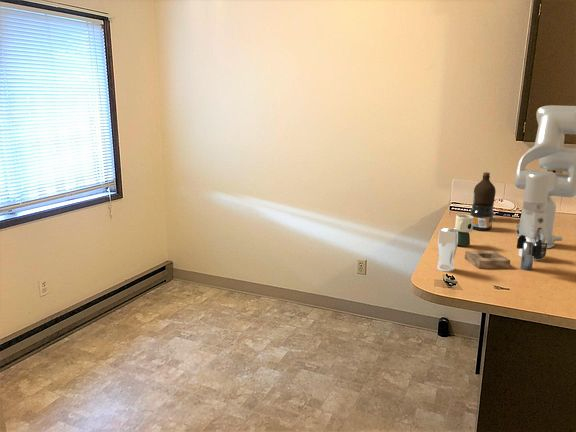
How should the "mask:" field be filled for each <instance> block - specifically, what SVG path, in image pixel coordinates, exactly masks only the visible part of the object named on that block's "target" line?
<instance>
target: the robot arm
mask: <svg viewBox="0 0 576 432" xmlns="http://www.w3.org/2000/svg"><path fill="white" fill-rule="evenodd" d="M536 121H537V125H538V126H537V132H536V136H535V141H534V145H533V146H532V147H531V148H529V149H527V150H526V151H525V152H524V154H522V156H521V157H520V158H519V160H518V163H517V166H516V170H515V175H514V185H515V187H516V188H517V189H520V190H524V194H523V204H522V211H521V215H520V219H519V224H516V233H517V235H516V238H517V242H516V249H518V250H519V249H523V242H526V239H527V238H526V237H528V238H530V239H532V240H533V243H534V245H533V246H532V254H531V255H532V256H540V255H541V248H542V246H543V244H544V242H545V241H546V242H547V249H552V248H555V246H556V243H555V242H556V241H557V242H562V241H563V237H562V236H559V235H558V236H556V235H554V234H553V233H554V224H555V217H556V211H557V206H556V203H555V201H554V200H553V198H552V197H561V198H562V197H563V198H575V196H576V148H573V147H571V148H569V147H564V144H565V139H566V138H565V135H576V105H553V104H550V105H544V106H541V107H539V108H537V110H536ZM536 160H538V166H539V167H540V169H543V170H538V169H537V170H536V169H526V167H527V166H529V164H530V163H532V162H534V161H536ZM548 170H549V171H548ZM553 171H560V172H566V173H568V174H565V173H557V172H553ZM536 240H538V241H536Z"/></svg>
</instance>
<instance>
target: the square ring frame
mask: <svg viewBox="0 0 576 432" xmlns="http://www.w3.org/2000/svg"><path fill="white" fill-rule="evenodd" d="M464 259H465V260H466V261H468V262H469V263H470V264H472V265H474V266H475V268H477V269H510V267H511V260H510V259H509V258H507V257H505V256H504V255H502V254H500V253H499V252H497V251H496V250H470V251H469V250H466V251H465V252H464Z"/></svg>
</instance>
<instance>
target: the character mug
mask: <svg viewBox="0 0 576 432" xmlns="http://www.w3.org/2000/svg"><path fill="white" fill-rule="evenodd" d="M470 215H471V214H456V215H455V225H454V229H456V230H458V245H459V246H460V247H469V246H470V245H471V242H470V241H471V238H470V237H471V235H470V233H471V232H472V231H473V230H474V229H473V219H474V217H473V216H470ZM458 245H457V246H458Z"/></svg>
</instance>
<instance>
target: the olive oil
mask: <svg viewBox="0 0 576 432" xmlns="http://www.w3.org/2000/svg"><path fill="white" fill-rule="evenodd" d="M490 178H491V172H487V171H486V172H485V171H484V172H483V174H482V179H481V180H480V181H479V182H478V183H477V184H476V185H475V186H474V188H473V189H474V190H473V199H472V201H473V202H472V204H474V203H486V204H491V205H493V206H494V203H495V198H496V192H497V191H496V187H495V185H494V184H493V182H491V179H490ZM493 210H494V209H493ZM493 210H492V211H493ZM493 212H494V211H493Z"/></svg>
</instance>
